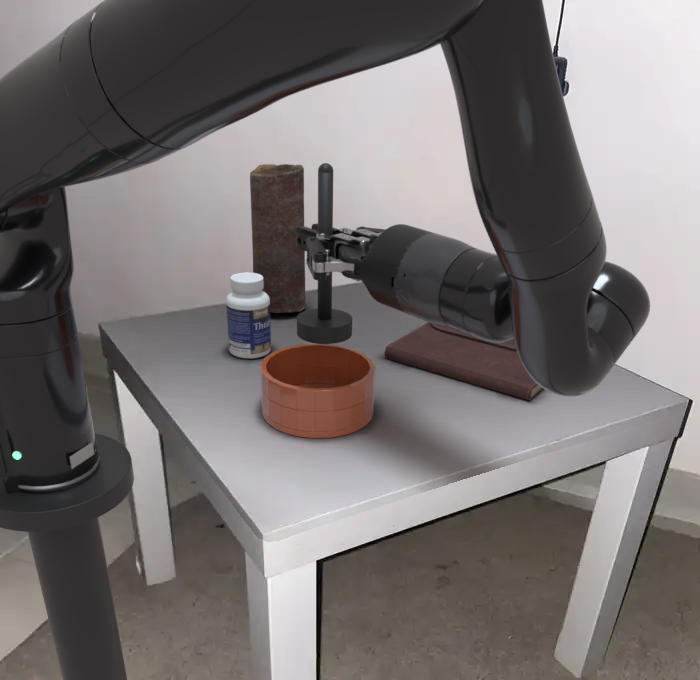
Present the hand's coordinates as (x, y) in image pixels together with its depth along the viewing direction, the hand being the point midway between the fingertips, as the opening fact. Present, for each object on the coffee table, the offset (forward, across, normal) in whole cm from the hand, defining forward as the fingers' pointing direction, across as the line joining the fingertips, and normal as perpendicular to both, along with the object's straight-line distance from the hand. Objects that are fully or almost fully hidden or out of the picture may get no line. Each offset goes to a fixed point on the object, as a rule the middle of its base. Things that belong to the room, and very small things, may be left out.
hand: (306, 235), depth 81 cm
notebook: (-7, -23, +18) cm, 30 cm away
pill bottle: (+13, -1, +18) cm, 22 cm away
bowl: (-5, +2, +18) cm, 19 cm away
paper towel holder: (-3, 0, +10) cm, 10 cm away
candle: (+22, -13, +18) cm, 32 cm away
